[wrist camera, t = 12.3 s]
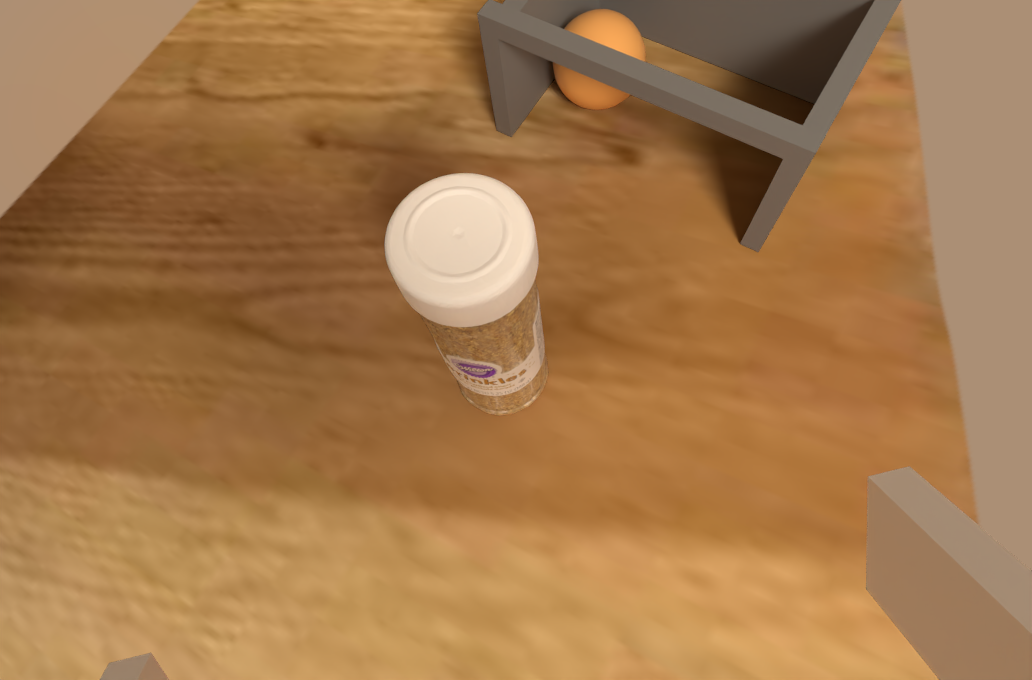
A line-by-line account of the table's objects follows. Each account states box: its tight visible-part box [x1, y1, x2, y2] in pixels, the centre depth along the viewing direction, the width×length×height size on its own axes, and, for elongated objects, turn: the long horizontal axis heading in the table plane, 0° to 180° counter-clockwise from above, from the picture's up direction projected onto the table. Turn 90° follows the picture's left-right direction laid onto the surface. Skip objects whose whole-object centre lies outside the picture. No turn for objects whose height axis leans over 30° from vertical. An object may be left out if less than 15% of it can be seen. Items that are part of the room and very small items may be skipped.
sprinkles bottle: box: [384, 173, 549, 416], centre depth 24 cm, size 5×5×13 cm
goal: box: [477, 0, 901, 252], centre depth 32 cm, size 16×11×8 cm
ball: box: [553, 9, 646, 110], centre depth 34 cm, size 5×5×5 cm
